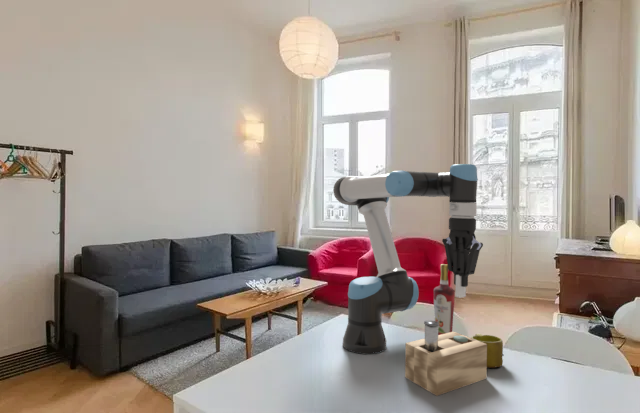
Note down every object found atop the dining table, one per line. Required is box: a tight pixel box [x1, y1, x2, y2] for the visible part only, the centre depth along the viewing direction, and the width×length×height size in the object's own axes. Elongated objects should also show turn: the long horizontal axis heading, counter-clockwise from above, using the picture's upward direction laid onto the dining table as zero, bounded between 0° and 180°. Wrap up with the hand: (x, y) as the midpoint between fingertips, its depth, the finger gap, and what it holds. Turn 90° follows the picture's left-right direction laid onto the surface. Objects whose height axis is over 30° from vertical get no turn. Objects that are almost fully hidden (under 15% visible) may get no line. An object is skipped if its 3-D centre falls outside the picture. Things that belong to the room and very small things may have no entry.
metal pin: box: [423, 319, 439, 352], centre depth 108 cm, size 4×4×9 cm
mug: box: [470, 333, 504, 369], centre depth 123 cm, size 12×10×10 cm
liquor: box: [433, 263, 456, 335], centre depth 139 cm, size 7×7×28 cm
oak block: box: [404, 331, 488, 397], centre depth 112 cm, size 12×20×10 cm, turn 120°
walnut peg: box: [453, 335, 468, 344], centre depth 115 cm, size 4×4×9 cm
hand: (460, 296), depth 114 cm, fingers closed
